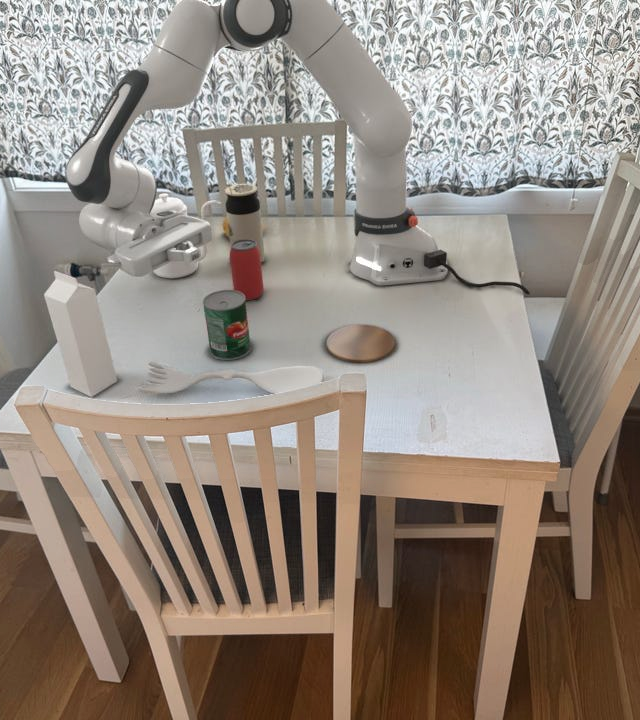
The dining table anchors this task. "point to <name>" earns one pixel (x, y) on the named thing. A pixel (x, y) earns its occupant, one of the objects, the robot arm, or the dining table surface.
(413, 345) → the dining table surface
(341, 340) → the wooden trivet
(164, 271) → the coffeepot
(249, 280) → the beer can
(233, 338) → the canned tomato
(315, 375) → the white serving fork
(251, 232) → the travel mug
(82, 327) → the milk
